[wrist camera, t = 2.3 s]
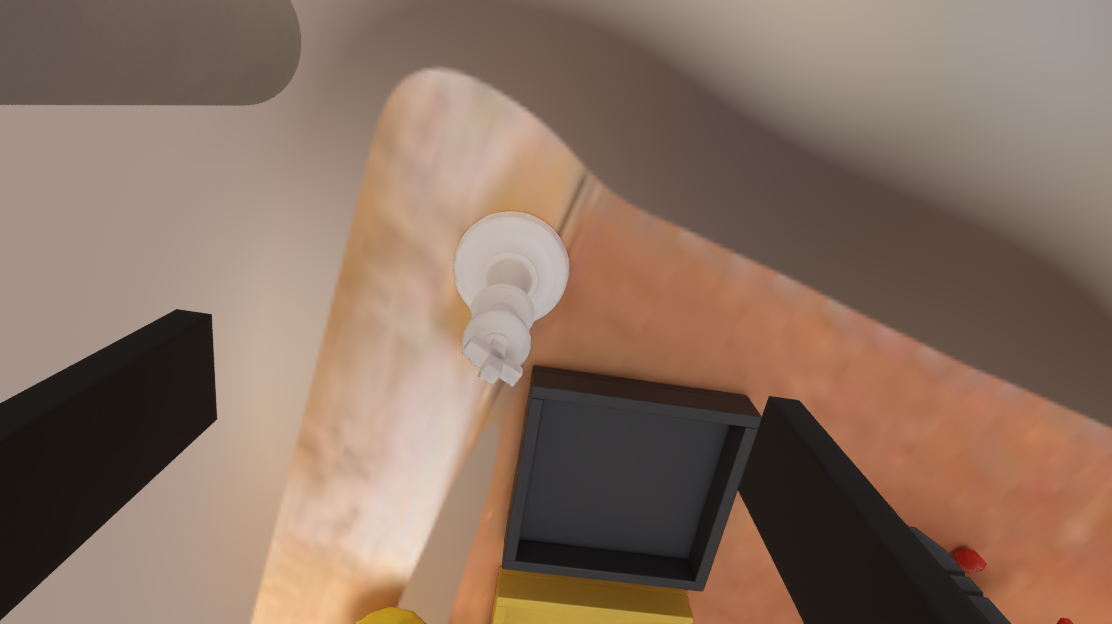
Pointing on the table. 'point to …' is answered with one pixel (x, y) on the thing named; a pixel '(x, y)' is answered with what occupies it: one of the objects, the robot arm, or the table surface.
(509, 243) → the chess piece
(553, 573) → the charcoal tray
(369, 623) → the lemon
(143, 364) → the robot arm
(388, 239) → the table surface
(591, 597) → the yellow tray
